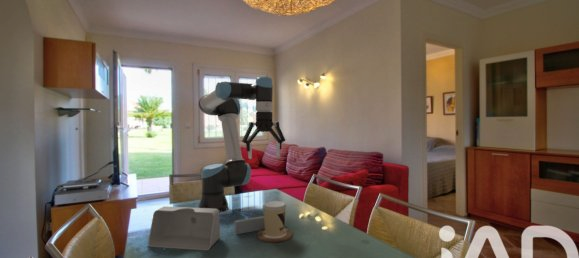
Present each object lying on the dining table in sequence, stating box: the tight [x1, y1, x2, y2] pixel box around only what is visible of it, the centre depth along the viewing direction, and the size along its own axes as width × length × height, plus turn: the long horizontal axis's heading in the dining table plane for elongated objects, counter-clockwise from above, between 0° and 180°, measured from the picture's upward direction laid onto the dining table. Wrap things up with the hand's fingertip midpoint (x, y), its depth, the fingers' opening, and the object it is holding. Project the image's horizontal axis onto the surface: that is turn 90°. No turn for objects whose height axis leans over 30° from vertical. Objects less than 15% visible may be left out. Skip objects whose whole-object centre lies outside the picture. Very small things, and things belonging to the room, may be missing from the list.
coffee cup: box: [262, 200, 287, 237], centre depth 113 cm, size 9×9×12 cm
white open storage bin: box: [147, 206, 221, 251], centre depth 110 cm, size 25×16×12 cm, turn 81°
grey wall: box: [234, 215, 265, 235], centre depth 119 cm, size 2×22×5 cm, turn 116°
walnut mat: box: [257, 227, 293, 244], centre depth 113 cm, size 14×14×1 cm
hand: (264, 157), depth 127 cm, fingers open, 13 cm apart
